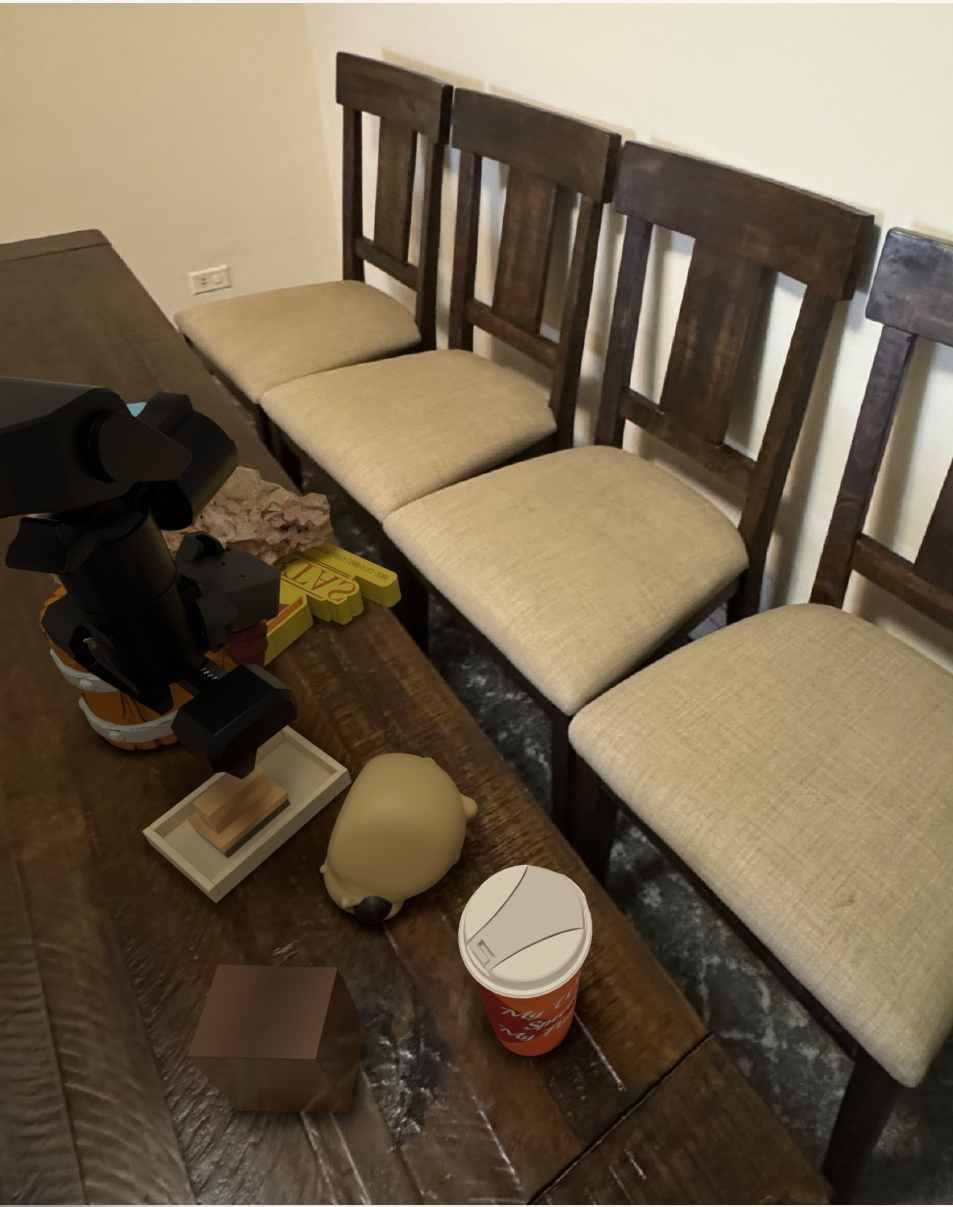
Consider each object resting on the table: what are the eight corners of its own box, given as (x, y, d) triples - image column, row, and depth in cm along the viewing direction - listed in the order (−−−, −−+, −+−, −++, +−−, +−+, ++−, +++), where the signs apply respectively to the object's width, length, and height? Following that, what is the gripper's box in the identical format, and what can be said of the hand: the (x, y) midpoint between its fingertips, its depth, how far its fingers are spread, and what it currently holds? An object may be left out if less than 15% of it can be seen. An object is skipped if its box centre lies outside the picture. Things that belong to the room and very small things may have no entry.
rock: (340, 548, 89) (296, 410, 84) (350, 565, 82) (303, 415, 77) (81, 623, 81) (13, 475, 75) (69, 648, 74) (-6, 487, 69)
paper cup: (521, 1101, 53) (510, 1019, 43) (453, 1005, 57) (429, 911, 47) (613, 1017, 56) (622, 924, 47) (543, 933, 60) (538, 831, 51)
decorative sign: (261, 530, 92) (147, 610, 83) (254, 509, 90) (137, 589, 81) (404, 596, 86) (298, 692, 76) (400, 575, 84) (290, 671, 74)
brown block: (237, 1110, 52) (186, 1056, 45) (261, 1026, 55) (217, 963, 48) (349, 1113, 52) (315, 1059, 45) (366, 1028, 55) (337, 966, 49)
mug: (94, 676, 76) (19, 552, 66) (280, 636, 81) (238, 514, 70) (85, 769, 69) (-1, 646, 59) (290, 719, 73) (244, 597, 63)
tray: (216, 903, 61) (208, 891, 60) (150, 844, 65) (141, 831, 63) (352, 782, 69) (347, 769, 68) (287, 734, 73) (282, 721, 71)
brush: (227, 860, 63) (210, 830, 60) (193, 831, 65) (175, 800, 62) (292, 804, 67) (279, 772, 64) (259, 777, 69) (244, 746, 66)
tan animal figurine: (374, 849, 69) (261, 863, 60) (440, 729, 67) (334, 726, 58) (442, 933, 64) (329, 962, 55) (517, 806, 62) (412, 815, 53)
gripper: (340, 572, 49) (381, 731, 60) (154, 461, 57) (220, 621, 68) (174, 687, 43) (253, 842, 54) (-12, 544, 50) (91, 706, 61)
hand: (205, 741), depth 59 cm, fingers open, 9 cm apart
